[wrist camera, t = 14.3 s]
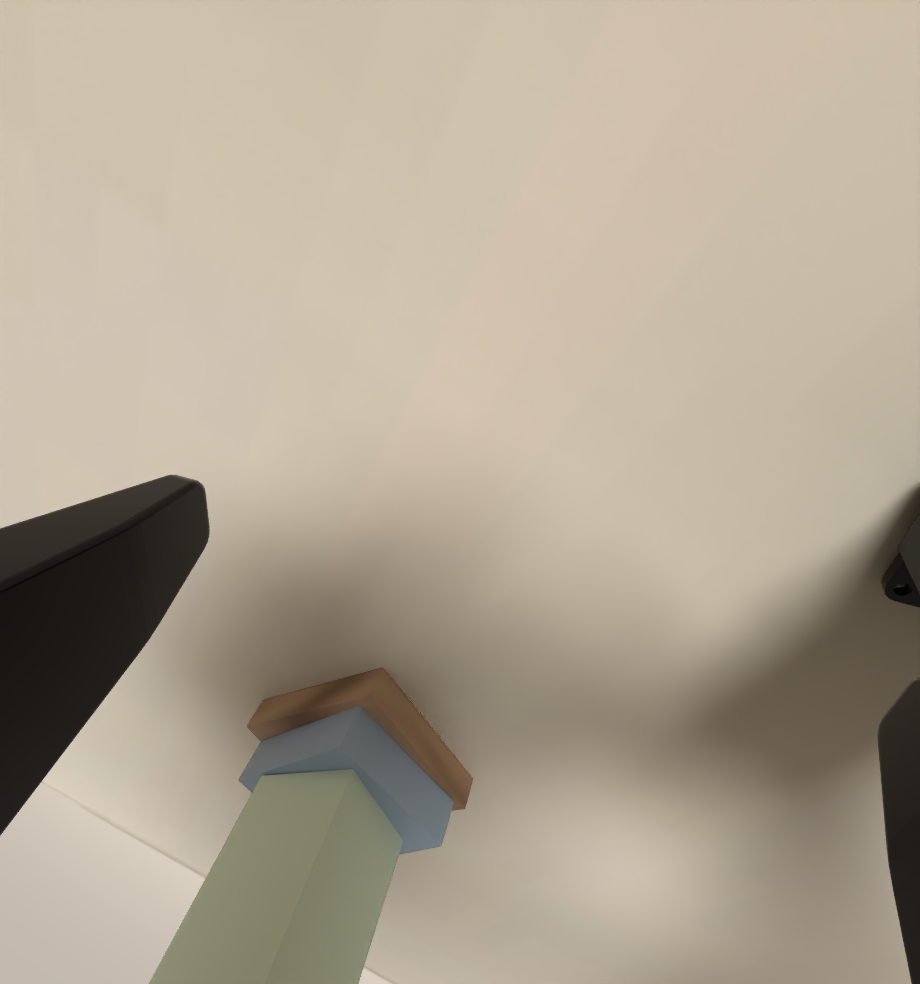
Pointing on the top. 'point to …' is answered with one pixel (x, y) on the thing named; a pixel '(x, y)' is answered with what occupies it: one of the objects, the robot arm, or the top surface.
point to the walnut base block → (384, 708)
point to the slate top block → (361, 771)
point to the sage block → (290, 888)
